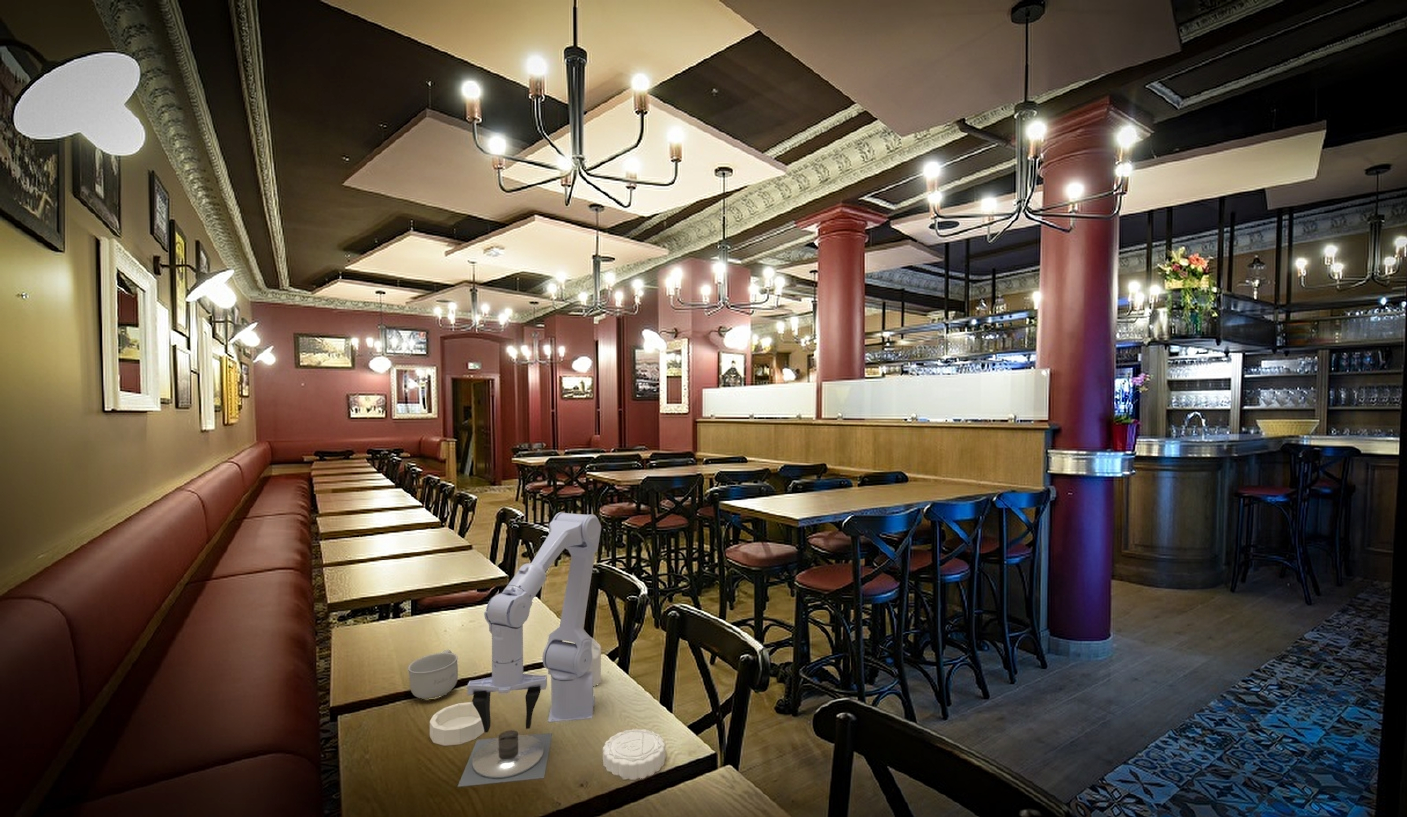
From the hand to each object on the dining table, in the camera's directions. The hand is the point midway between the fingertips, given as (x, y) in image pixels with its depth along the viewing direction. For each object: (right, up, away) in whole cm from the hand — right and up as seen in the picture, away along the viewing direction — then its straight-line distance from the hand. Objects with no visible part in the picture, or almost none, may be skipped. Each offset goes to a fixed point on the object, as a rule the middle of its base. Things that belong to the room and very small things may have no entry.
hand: (508, 728), depth 113 cm
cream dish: (-14, -6, +10) cm, 18 cm away
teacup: (-27, -7, +28) cm, 39 cm away
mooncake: (+24, -7, 0) cm, 25 cm away
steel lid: (0, -6, 0) cm, 6 cm away
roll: (+9, -7, +32) cm, 34 cm away
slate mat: (0, -6, 0) cm, 6 cm away
